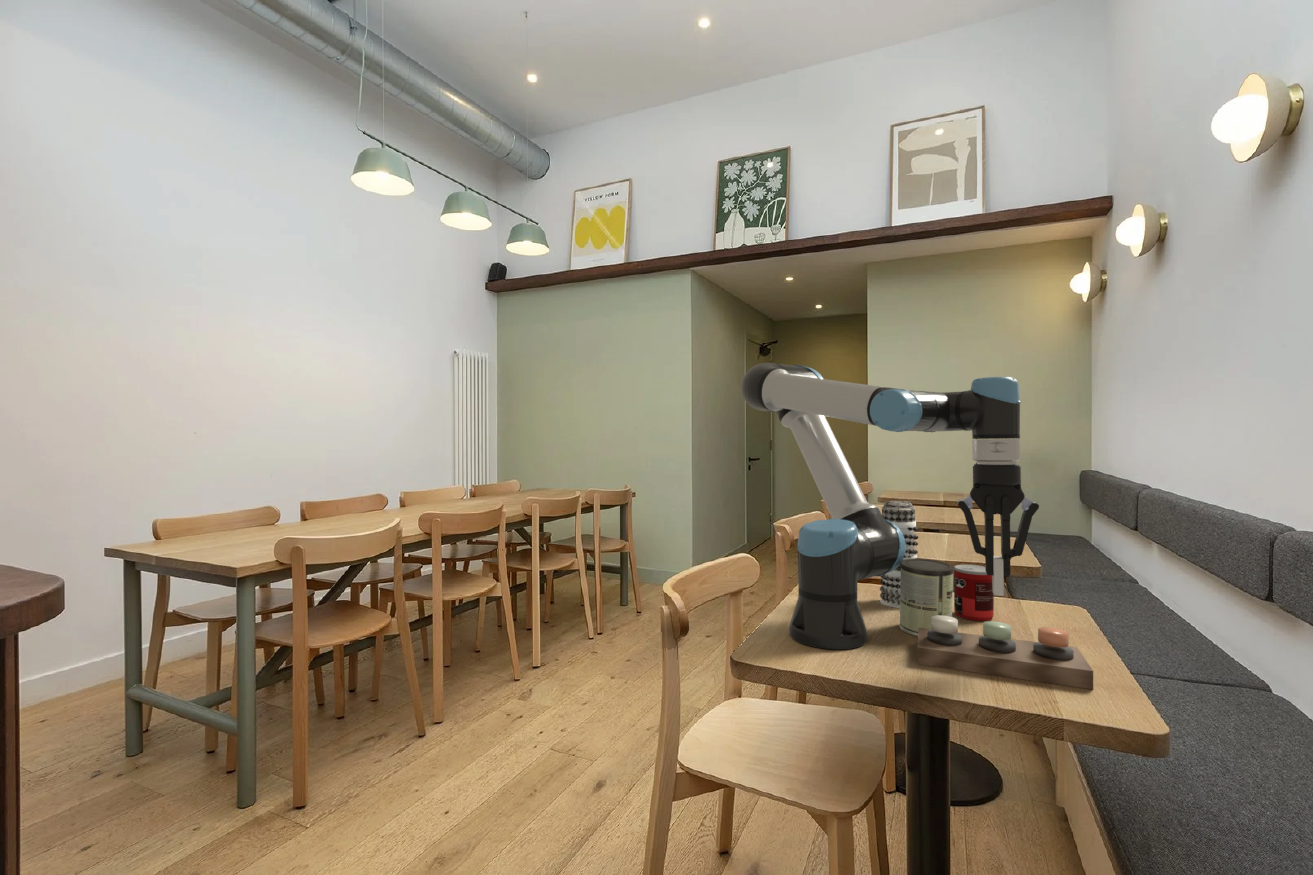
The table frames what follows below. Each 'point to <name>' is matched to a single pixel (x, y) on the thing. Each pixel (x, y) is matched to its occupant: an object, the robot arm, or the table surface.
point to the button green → (997, 630)
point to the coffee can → (924, 593)
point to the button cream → (944, 624)
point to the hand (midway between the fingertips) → (998, 593)
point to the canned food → (973, 593)
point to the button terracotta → (1053, 637)
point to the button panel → (1005, 658)
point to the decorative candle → (905, 521)
